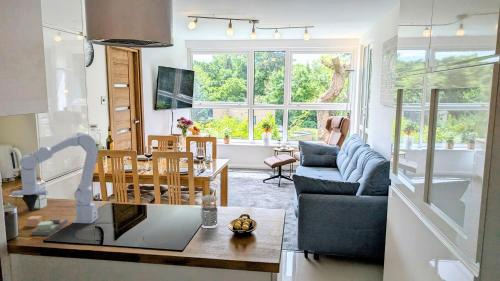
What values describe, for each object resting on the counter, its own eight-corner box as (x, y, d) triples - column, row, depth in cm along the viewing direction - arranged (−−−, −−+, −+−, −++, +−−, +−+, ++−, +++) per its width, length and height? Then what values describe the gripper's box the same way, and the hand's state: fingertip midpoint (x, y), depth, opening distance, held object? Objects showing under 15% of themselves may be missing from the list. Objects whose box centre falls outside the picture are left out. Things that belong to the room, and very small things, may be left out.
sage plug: (53, 229, 166) (52, 221, 165) (50, 232, 162) (49, 224, 161) (41, 229, 165) (41, 221, 164) (38, 233, 161) (37, 224, 160)
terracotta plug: (42, 223, 172) (42, 216, 171) (37, 227, 168) (37, 219, 167) (32, 223, 172) (32, 215, 171) (27, 226, 168) (26, 218, 167)
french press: (223, 223, 176) (223, 175, 173) (210, 231, 166) (211, 180, 162) (206, 220, 181) (206, 172, 177) (193, 228, 170) (193, 177, 166)
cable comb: (67, 222, 174) (67, 217, 174) (49, 235, 158) (49, 230, 158) (51, 222, 174) (51, 217, 174) (31, 234, 159) (31, 229, 158)
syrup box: (47, 205, 198) (45, 180, 195) (40, 209, 192) (38, 183, 190) (37, 205, 198) (36, 180, 196) (30, 208, 192) (28, 182, 190)
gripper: (50, 179, 164) (51, 207, 166) (16, 179, 162) (18, 208, 164) (43, 183, 158) (45, 212, 160) (8, 183, 155) (10, 213, 157)
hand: (31, 210), depth 161 cm, fingers closed
